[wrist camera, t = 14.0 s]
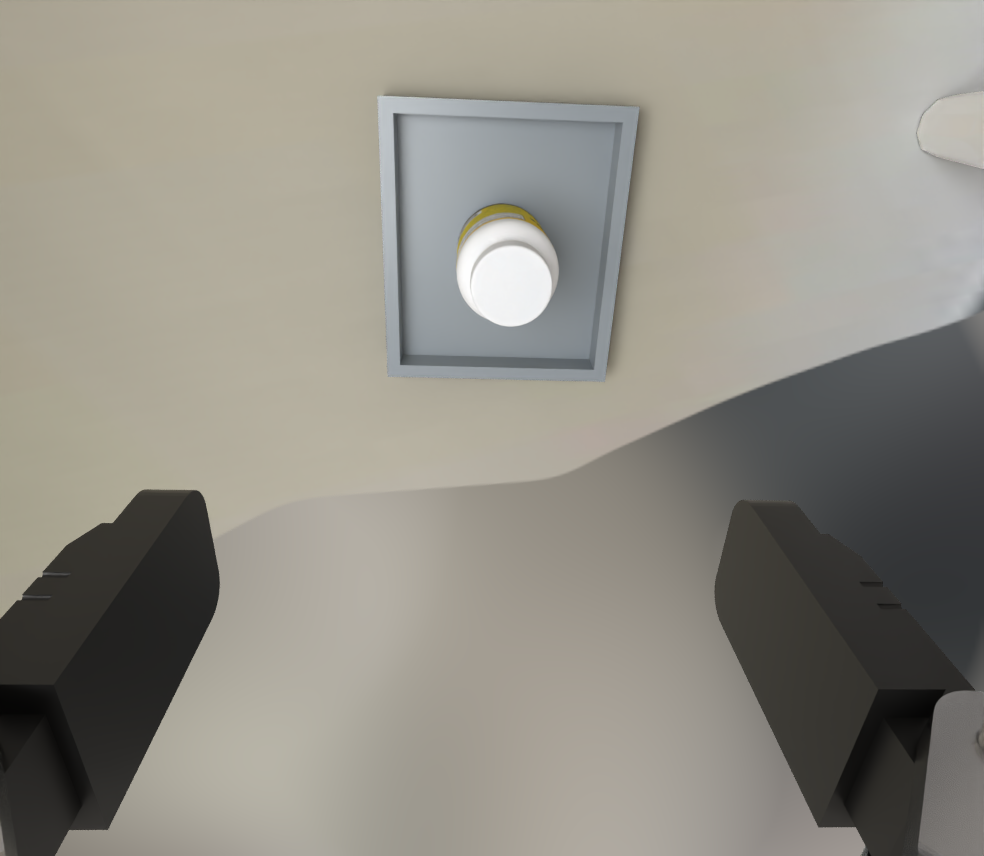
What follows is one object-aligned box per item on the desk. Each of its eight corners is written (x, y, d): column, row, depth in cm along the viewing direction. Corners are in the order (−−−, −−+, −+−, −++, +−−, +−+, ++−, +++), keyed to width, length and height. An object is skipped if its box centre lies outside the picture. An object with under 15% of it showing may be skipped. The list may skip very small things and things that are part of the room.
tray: (382, 95, 37) (377, 95, 34) (629, 106, 37) (639, 106, 35) (391, 362, 44) (387, 376, 42) (598, 367, 44) (604, 381, 42)
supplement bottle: (549, 284, 41) (570, 335, 32) (464, 295, 41) (462, 348, 33) (541, 194, 39) (562, 223, 30) (451, 207, 39) (445, 238, 30)
